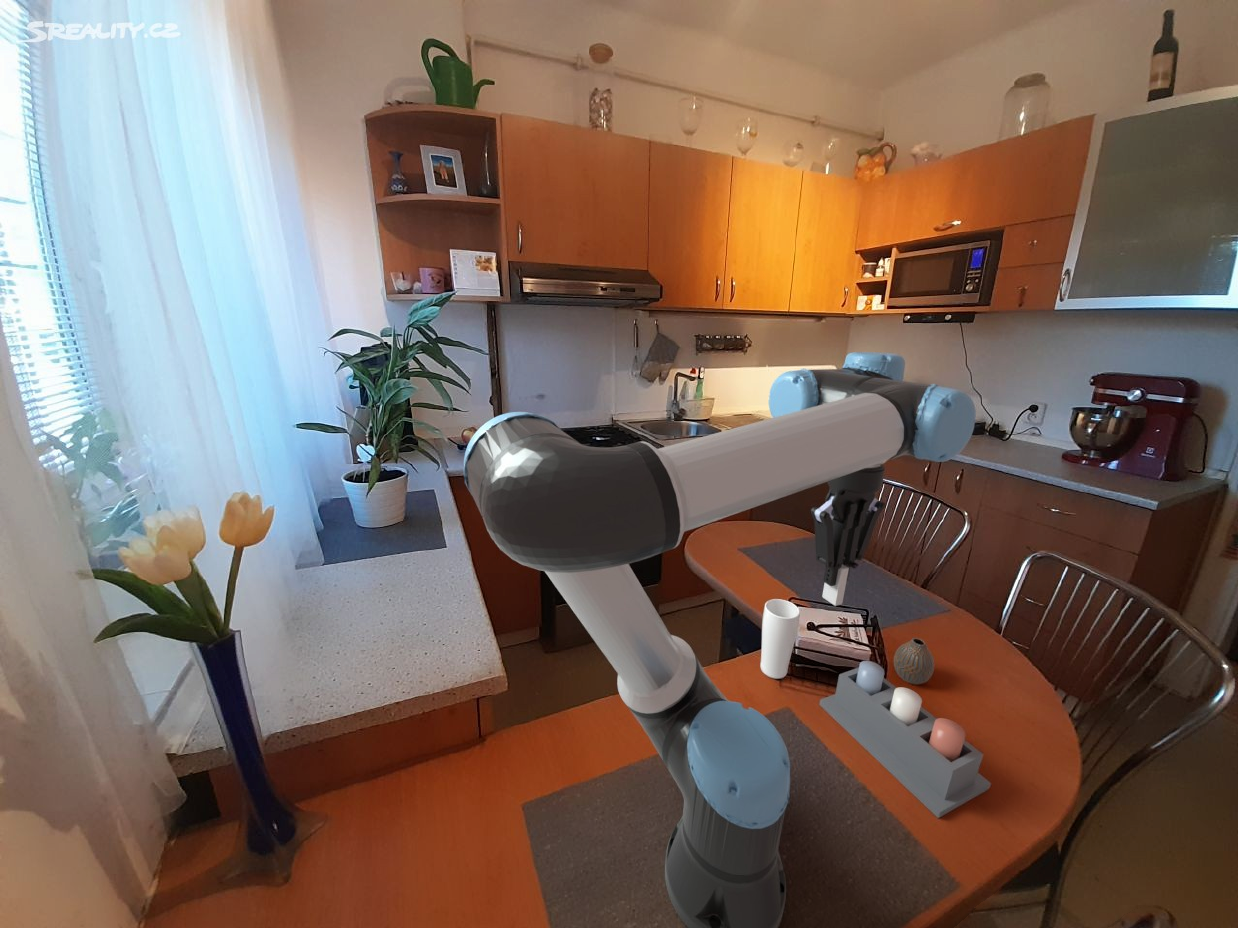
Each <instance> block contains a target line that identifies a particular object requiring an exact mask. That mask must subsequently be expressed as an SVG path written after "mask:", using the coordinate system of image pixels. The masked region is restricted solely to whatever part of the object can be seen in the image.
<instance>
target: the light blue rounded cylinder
mask: <svg viewBox="0 0 1238 928" xmlns="http://www.w3.org/2000/svg"><path fill="white" fill-rule="evenodd" d="M884 676H885V670H884V668H883V667H882V666H881V665H879V663H876V662H874V661H870V660H863V661H861V662H860V663H859V670H858V675H857V680H856V684H857V685H858V686H860V687H861V688H862V689H863V690H864V691H866V692H867V693H868V694H869V695H870V696H872V695H874V694H877V693H879V692H880V690H881V686H882V682H883V678H885V677H884Z"/></svg>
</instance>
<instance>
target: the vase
mask: <svg viewBox="0 0 1238 928" xmlns="http://www.w3.org/2000/svg"><path fill="white" fill-rule="evenodd" d="M893 666H894V667H893V668H894V670H895V672H896V674H897V676H899V677H900V679H902V681H904V682H906V683H908V684H912V685H922V684H925V683H927V682H928V681H929V680H930V679H931V677H932V676H933V674H934V671H935V661H934V657H933V654H932V653H931V651H930V649H929V648H928V645H927V643H926V642H925V641H924V640H923V639H922V638H919V637H913V638H912V639H910V640H908V641H907V642H905V643H903V644H900V646H899V647H898V648H897V649H896V650H895V653H894V656H893Z"/></svg>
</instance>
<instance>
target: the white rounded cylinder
mask: <svg viewBox="0 0 1238 928" xmlns="http://www.w3.org/2000/svg"><path fill="white" fill-rule="evenodd" d="M922 703H923V699H922V697H921V695H919V694H918V693H917V692H915V691H914V690H912V689H911V688H907V687H902V686H901V687H896V689H895V690H894V694H893V699H892V703H891V707H890V712H891V713H892V714H893V715H895V716H896V717H897V718H898V719H899V720H901V721H902V722H903V723H904V724H905V725H907V726H910V725H912V724H915V723H916V722H917V719H918V715H919V711H920V707H922Z"/></svg>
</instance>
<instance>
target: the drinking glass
mask: <svg viewBox="0 0 1238 928" xmlns="http://www.w3.org/2000/svg"><path fill="white" fill-rule="evenodd" d="M800 614H801V610H800V608H799V607H798V605H796V604H794V603H792V602H791V601H788V600H785V599H779V598H773V599H769V600H767V601H766V602H765V603H764V608H763V614H762V621H761V651H760V652H761V654H760V655H761V656H760V664H759V665H760V666H759V667H760V670H761V672H762V673H763V674H764V675H765V676H767V677H769V678H771V679H777V680H778V679H780V680H781V679H783V678H784V677H785V676H787V674H788V669H789V664H790V660H791V656H792V653H793V649H794V646H795V642H796V639H797V634H798V630H799V624H800Z"/></svg>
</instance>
